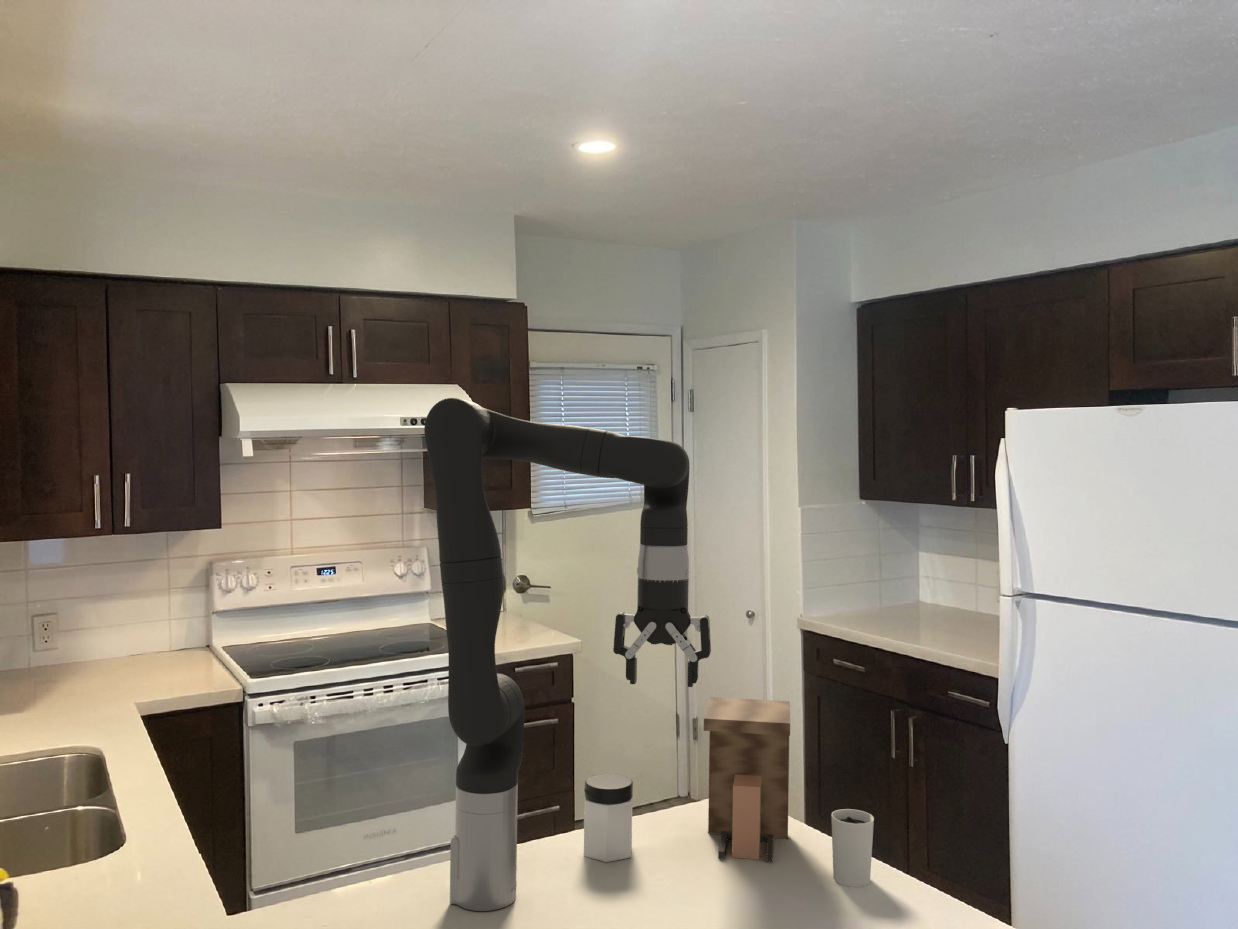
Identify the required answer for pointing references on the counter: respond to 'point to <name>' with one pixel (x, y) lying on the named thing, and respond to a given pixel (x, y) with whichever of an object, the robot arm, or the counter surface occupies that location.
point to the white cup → (852, 846)
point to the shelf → (748, 763)
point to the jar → (608, 817)
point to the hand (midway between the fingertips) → (661, 684)
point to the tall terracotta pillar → (746, 816)
